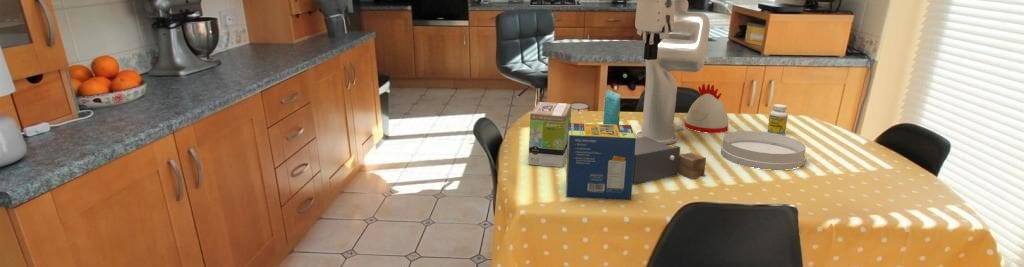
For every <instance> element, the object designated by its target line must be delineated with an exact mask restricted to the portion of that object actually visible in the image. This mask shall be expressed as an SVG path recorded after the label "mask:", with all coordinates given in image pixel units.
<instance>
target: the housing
mask: <svg viewBox="0 0 1024 267" xmlns="http://www.w3.org/2000/svg"><path fill="white" fill-rule="evenodd" d="M635 138H636V142H635V154H637V153H642V152H648V151H653V150H658V149H664V148H669V147H672V146H671V145H669V144H663V143H661V142H658V141H655V140H653V139H650V138H648V137H641V138H637V137H635Z"/></svg>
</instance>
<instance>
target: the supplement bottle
mask: <svg viewBox="0 0 1024 267" xmlns="http://www.w3.org/2000/svg"><path fill="white" fill-rule="evenodd" d="M788 117H789V114H788V112H787V105H785V104H777V103H776V104H772V110H771V111H770V112H769V117H768V122H767V124H768V125H767V131H766V132H767V133H774V134H779V135H783V136H786V130H787V123H788Z"/></svg>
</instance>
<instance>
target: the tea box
mask: <svg viewBox="0 0 1024 267" xmlns="http://www.w3.org/2000/svg"><path fill="white" fill-rule="evenodd" d="M571 117H572V104H571V103H563V102H561V103H560V102H548V101H538V102H537V104H536V105H535V107H534V108H533V109H532V111H530V114H529V136H528V137H529V141H528V162H527V164H528V165H533V166H542V167H553V168H554V167H555V168H563V166H564V164H565V161H567V145H568V129H569V123H572V122H571V121H572V120H571V119H572V118H571Z"/></svg>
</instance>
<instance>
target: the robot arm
mask: <svg viewBox="0 0 1024 267" xmlns="http://www.w3.org/2000/svg"><path fill="white" fill-rule="evenodd" d="M635 9H636V11H635V20H634V22H635V23H634V26H635V29H636V34H637V35H638V36H640V37H641V38H642V43H643V45H644V50H643V59H644V60H645V88H644V97H643V98H644V101H643V111H642V112H643V113H642V125H641V126H642V127H641V131H639V132H636V136H635V138H641V137H648V138H650V139H653V140H655V141H658V142H661V143H663V144H666V145H671V144H672V145H673V144H675V143H676V142H677V141H678V136H677V135H676V133H677V132H683V131H684V130H685V125H683V124H679V125H676V124H674V123H675V113H676V112H675V111H676V105H677V104H676V102H677V93H678V92H677V91H678V83H677V80H676V79H675V77H674V76H673V74H672V72H679V73H680V72H682V73H698V72H700V71H701V70H702V69H703V67H704V64H705V61H706V55H707V49H708V45H709V44H708V43H709V37H710V36H709V35H710V30H711V29H710V27H711V24H710V23H711V22H710V18H709V16H708V15H707V14H706V13H704V12H696V11H688V10H689V1H688V0H637V4H636V8H635Z"/></svg>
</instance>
